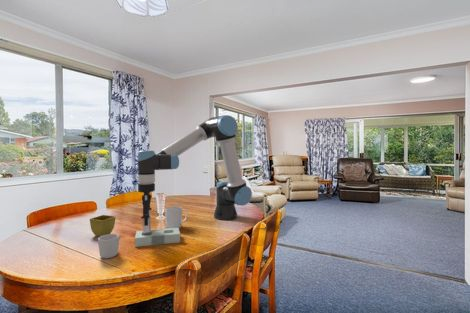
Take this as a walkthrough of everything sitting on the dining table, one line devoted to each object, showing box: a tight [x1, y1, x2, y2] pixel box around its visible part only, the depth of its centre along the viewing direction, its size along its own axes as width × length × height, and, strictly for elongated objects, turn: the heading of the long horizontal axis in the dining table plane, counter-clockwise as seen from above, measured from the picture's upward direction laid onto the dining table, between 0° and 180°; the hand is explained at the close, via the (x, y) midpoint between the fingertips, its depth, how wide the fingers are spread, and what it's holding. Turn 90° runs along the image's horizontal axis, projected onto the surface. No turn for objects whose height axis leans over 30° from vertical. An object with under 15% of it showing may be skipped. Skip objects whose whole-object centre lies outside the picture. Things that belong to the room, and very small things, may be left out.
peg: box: [143, 215, 152, 235], centre depth 120 cm, size 3×3×12 cm
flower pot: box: [89, 214, 116, 237], centre depth 130 cm, size 9×9×9 cm
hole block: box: [134, 228, 181, 248], centre depth 122 cm, size 20×10×4 cm, turn 107°
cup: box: [97, 233, 120, 259], centre depth 106 cm, size 11×8×8 cm
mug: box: [164, 205, 188, 229], centre depth 143 cm, size 12×9×11 cm
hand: (146, 227), depth 120 cm, fingers open, 13 cm apart
